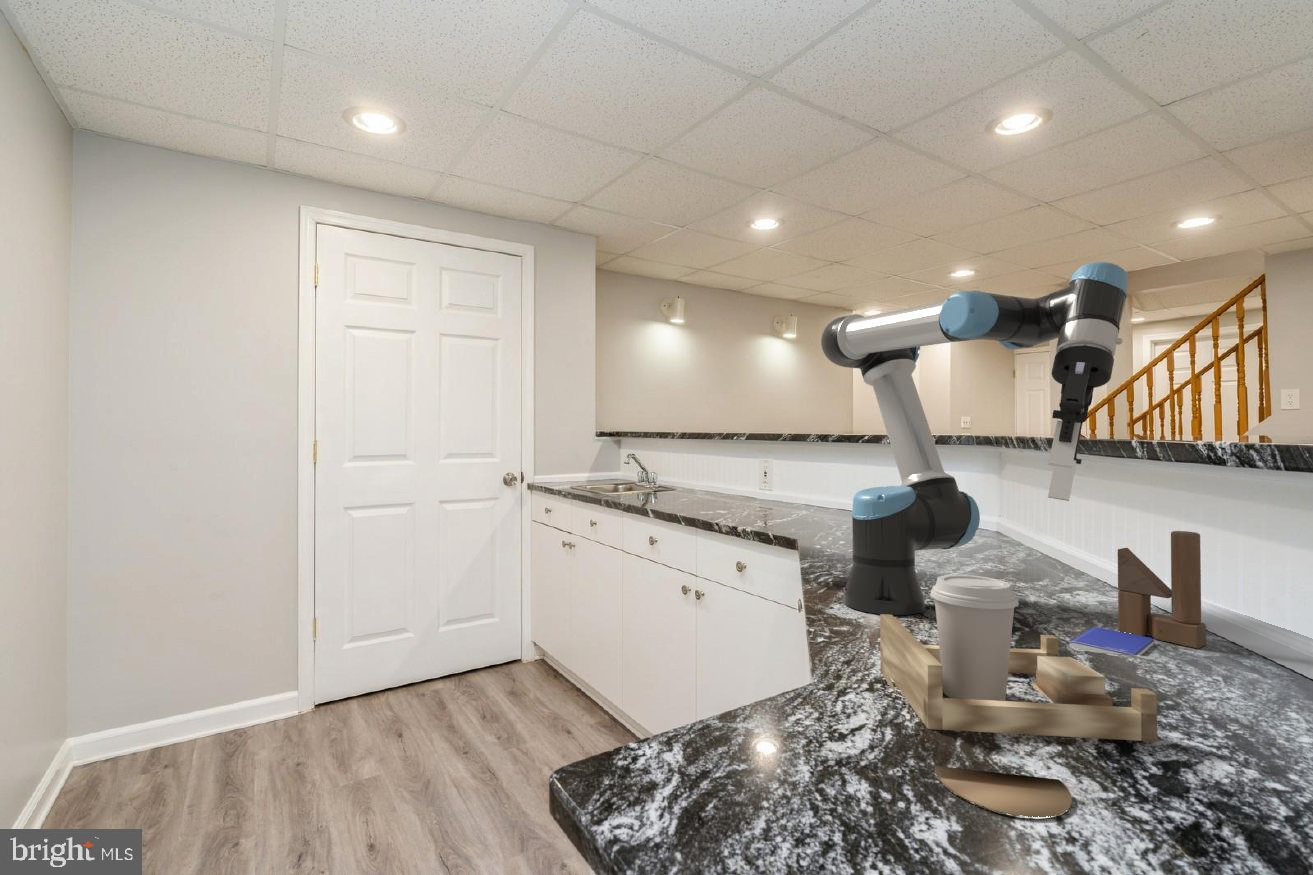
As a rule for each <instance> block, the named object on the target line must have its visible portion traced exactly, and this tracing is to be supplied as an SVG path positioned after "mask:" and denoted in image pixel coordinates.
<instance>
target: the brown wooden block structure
mask: <svg viewBox="0 0 1313 875" xmlns="http://www.w3.org/2000/svg"><path fill="white" fill-rule="evenodd" d="M1201 552H1202V551H1201V534H1200V533H1198V532H1195V531H1187V530H1185V531H1183V530H1173V531H1171V532H1170V573H1171V574H1170V575H1171V576H1170V578H1171V580H1170V583H1171V584H1170V586H1171V587H1169V586H1168V585H1167V584H1166V583H1165V582H1164V581H1163V580H1162V579H1161V578H1160V577H1158V576H1157V575H1156V574H1155V573H1154V572H1153V571H1152V570H1151V569H1150V568H1149V567H1148V566H1147V565H1146V563H1144V562H1143V561H1142V560H1141V559H1140V558H1139V557H1138V556H1137V555H1136V554H1135V553H1134V552H1132V550H1131V549H1129V548H1128V547H1122V548H1117V590H1118V592H1117V603H1118V604H1117V606H1118V607H1117V608H1118V609H1117V610H1118V611H1117V613H1118V614H1117V620H1118V622H1117V624H1118V626H1117V628H1118V630H1117V631H1120V632H1126V633H1131V634H1135V635H1140V636H1145V635H1146V636H1148V637H1151V636H1152V637H1151V638H1152V639H1154V640H1156V639H1157V641H1161V642H1164V641H1167V642H1166V643H1169V642H1172V643H1171V644H1173V643H1175V645H1178V644H1179V645H1178V646H1182V645H1183V647H1187V646H1190V647H1189V648H1191V647H1193V648H1192V649H1196V648H1198V649H1200V648H1202V646H1203V647H1205V646H1207V625H1206V623H1205V622H1202V577H1201V576H1202V569H1201V568H1202V565H1201V562H1202V561H1201V556H1202V555H1201ZM1151 596H1152V597H1155V598H1163V599H1170V600H1171V616H1169V615H1165V614H1158V613H1153V612H1152V605H1151V604H1152V602H1151V601H1152V600H1151V599H1152V597H1151ZM1147 634H1148V635H1147ZM1146 636H1145V637H1146Z"/></svg>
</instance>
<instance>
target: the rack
mask: <svg viewBox="0 0 1313 875" xmlns="http://www.w3.org/2000/svg"><path fill="white" fill-rule="evenodd" d="M879 615H880V618H879V620H880V623H879V626H880V627H879V629H880V631H879V632H880V635H879V636H880V638H879V639H880V640H879V642H880V646H879V647H880V653H879V654H880V663H879V665H880V670H879V671H880V672H879V673H880V674H881V675H882V677H884V678H883V679H885V681H886V682H887V683H888V685H889V687H890V688H891V689H892V691H893V692H894V694H895V695H896V697H897V698H899V695H898V693H897V691H896V688H895V686H894V684H895V685H896V687H897V688H898V690H899V691H900V692H901V694H902V695H903V697H904V698H905V699H906V701H907V702H908V703H909V705H910V706H911V707H912V709H913V710H914V712H915V713H916V714H917V716H918V717H919V719H920V720H921V722H922V723H923V724H924V726H925V727H926V728H927V729H928V730H937V731H938V730H941V731H942V730H943V731H956V732H958V731H959V732H962V731H963V732H975V733H976V732H978V733H996V734H1012V735H1014V734H1015V735H1031V736H1033V735H1034V736H1035V735H1036V736H1050V737H1053V736H1054V737H1066V738H1067V737H1070V738H1083V739H1084V738H1087V739H1088V738H1089V739H1103V740H1104V739H1105V740H1125V741H1137V742H1139V741H1140V742H1141V741H1142V742H1143V741H1144V742H1155V743H1156V742H1158V710H1157V709H1158V708H1157V707H1158V705H1157V704H1158V696H1157V694H1156V693H1154V692H1153V691H1152V690H1149V689H1148V688H1138V687H1137V688H1133V687H1132V688H1130V698H1131V699H1130V700H1131V701H1130V703H1131V704H1130V706H1114V705H1113V706H1095V705H1075V704H1055V703H1053V702H1051V703H1050V702H1031V701H1010V700H1009V701H1008V700H1005V701H994V700H974V699H953V698H950V697H944V696H943V693H944V691H943V682H942V665H941V660H940V649H939V644H937V645H935V644H922V643H921V642H919V641H918V640H917V638H915V636H914V635H912V633H911V632H910V631H908V630H907V628H905V627H904V625H903V624H901V623H900V622H899V620H897V619H896V617H894V615H887V614H879ZM1059 642H1060V641H1059V638H1058V637H1057V636H1055V635H1053V634H1040V649H1037V648H1035V649H1034V648H1014V647H1013V648H1011V647H1010V656H1009V667H1008V674H1009V673H1010V674H1011V673H1012V674H1013V673H1015V674H1030V675H1031V674H1034V675H1036V669H1037V656H1050V657H1060V654H1059V650H1060V649H1059V647H1060V646H1059Z"/></svg>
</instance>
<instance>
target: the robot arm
mask: <svg viewBox="0 0 1313 875" xmlns="http://www.w3.org/2000/svg"><path fill="white" fill-rule="evenodd" d="M1128 280H1129V278H1128V273H1127V271H1126V270H1124V268H1122V267H1121V266H1119V265H1118V264H1115V263H1113V262H1105V261H1096V262H1089V263H1087V264H1083V265H1082V266H1080V267H1078V269H1076V270H1075V271H1074V272H1073V273H1072V276H1071V278H1070V280H1069V286H1068V287H1064V288H1062V289H1061V288H1060V289H1059V290H1057V291H1056V290H1055V291H1054V292H1052V293H1049V294H1046V295H1043V296H1039V297H1037V298H1030V297H1021V296H1012V295H1006V294H1005V295H1004V294H996V293H991V292H985V291H980V290H960V291H957V292H956V291H955V292H954V293H952V294H951V295H950V296H949V297H948V298H946V299H944V300H940V301H937V302H936V301H935V302H931V303H927V304H922V305H921V304H920V305H917V306H913V307H907V308H901V309H898V310H893V311H887V312H882V313H878V314H872V315H868V316H865V315H862V314H857V313H855V314H850V315H844V316H839V317H836V318H835V319H833V320H831V321H830V322H829V323H828V324H827V325H826V327H824V330H823V331H822V335H821V339H820V343H821V344H820V345H821V349H822V351H823V355H825V357H826V358H827V359H828V361H830V362H831V363H832V364H835V365H836V366H839V367H842V368H848V369H850V368H851V369H859V370H860V372H861V376H862V379H863V383H865V384H866V385H869V386H871V387H872V389H873V392H874V395H875V398H876V401H877V404H878V407H879V410H880V414H881V417H882V422H883V423H884V428H885V430H886V434H887V437H888V440H889V444H890V446H891V451H892V453H893V457H894V460H895V463H896V466H897V470H898V473H899V475H900V480H901V485H889V486H876V487H870V488H864V489H861V490H858V492H855V494H854V495H853V498H852V510H851V517H852V519H851V520H852V524H851V525H852V565H851V569H850V571H849V573H848V578H847V582H846V586H845V587H844V589H843V604H844V605H845V606H847V607H849V608H851V609H854V610H857V611H860V612H866V613H869V614H875V615H876V614H878V615H880V614H887V615H892V616H909V615H918V614H921V613H923V612H924V611H926V602H925V601H926V599H925V595H924V593H923V591H922V587H921V585H920V581H919V577H918V575H917V572H916V551H928V550H949V549H953V548H959V547H963V546H965V545H966V544H969V543H970V542H971V541H972V540H973V538H974V537H975V536H976V532H977V531H978V529H979V526H980V522H981V521H980V520H981V519H980V517H981V516H980V508H979V506H978V504H977V502H976V500H975V499H974V498H973V497H972V496H971V495H969V494H968V493H966V492H964V491H961V490H960V489H959V487H958V484H957V481H956V478H955V477H954V476H952V475H950V474H948V473H947V472H945V470H944V467H943V464H942V461H941V459H940V456H939V453H938V452H939V451H938V449H937V446H936V443H935V441H934V437H933V434H932V432H931V428H930V426H929V423H928V420H927V416H926V413H925V410H924V408H923V405H922V402H921V399H920V396H919V392H918V390H917V386H916V384H915V381H914V377H913V373H914V371H915V370H916V368H917V364H916V363H917V361H918V359H919V356H920V353H919V351H920V350H921V347H926V346H927V347H928V346H933V345H934V346H935V345H941V344H948V343H957V342H967V341H975V340H978V341H979V340H982V341H983V340H984V341H987V340H988V341H997V342H998V343H999V344H1000V345H1003V346H1004V348H1006V349H1008V350H1013V351H1014V350H1019V349H1024V348H1026V349H1028V348H1032V347H1034V346H1037V345H1040V344H1043V343H1047V342H1049V341H1052V340H1056V339H1057V344H1056V349H1055V353H1056V354H1055V355H1054V361H1053V362H1052V363H1053V364H1052V368H1051V377H1052V379H1053V380H1054V381H1055V382H1056V383H1058V384H1060V385H1061V390H1060V401H1059V405H1058V407H1059V410H1058V409H1053V411H1052V419H1057V420H1056V425H1055V429H1054V430H1055V431H1054V434H1053V440H1052V444H1051V449H1050V454H1049V459H1048V466H1052V467H1053V470H1052V475H1051V479H1050V485H1049V489H1048V493H1047V498H1048V499H1054V500H1059V501H1065V502H1069V501H1070V498H1071V493H1072V492H1071V491H1072V487H1073V481H1074V475H1075V471H1076V466H1077V465H1082V459H1081V458H1077V456H1078V451H1079V450H1078V449H1079V444H1080V439H1081V433H1082V427H1083V423H1085V422H1086V421H1087V418H1088V413H1089V407H1090V406H1091V405H1092V402H1093V396H1094V389H1095V388H1096V389H1097V388H1100V387H1102V386H1105V385H1106V384H1107V383H1109V382H1110V380H1111V379H1112V374H1113V369H1114V368H1113V367H1114V363H1115V359H1114V357H1115V354H1116V350H1117V349H1116V348H1117V346H1118V345H1119V346H1120V345H1122V344H1123V338H1122V337H1121V338H1120V337H1119V333H1120V328H1121V327H1120V324H1121V320H1122V317H1123V312H1124V309H1125V303H1126V300H1127V298H1128V293H1127V289H1128Z"/></svg>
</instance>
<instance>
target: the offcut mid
mask: <svg viewBox="0 0 1313 875" xmlns="http://www.w3.org/2000/svg"><path fill="white" fill-rule="evenodd" d="M1035 684H1036V685H1037V686H1038V687H1039V688H1040V689H1041V690H1042V691H1043V692H1044V693H1045V694H1046V695H1047V697H1048V698H1049V699H1048V698H1047V697H1046V698H1047V699H1048V700H1050V701H1051V703H1055V704H1075V705H1095V706H1114V705H1113V702H1114V701H1113V697H1112V696H1110V695H1109V694H1108V693H1106V692H1105V695H1104V694H1079V693H1067V692H1066V691H1064V690H1063V689H1061V688H1060V687H1059V686H1057V685H1056V684H1054V683H1053V682H1051V681H1050V680H1048V679H1047V678H1045V677H1044V676H1042V675H1041V674H1039V673H1038V672H1037V669H1036V674H1035Z"/></svg>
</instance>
